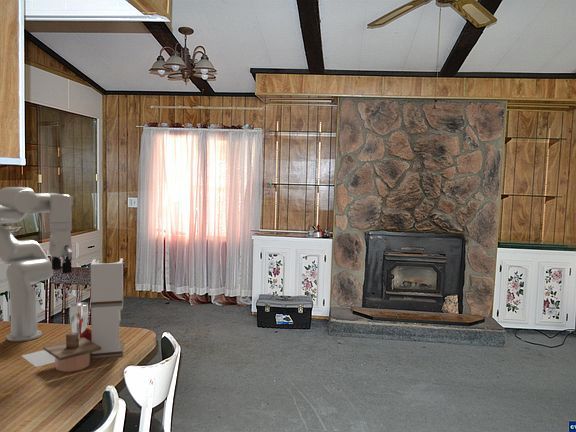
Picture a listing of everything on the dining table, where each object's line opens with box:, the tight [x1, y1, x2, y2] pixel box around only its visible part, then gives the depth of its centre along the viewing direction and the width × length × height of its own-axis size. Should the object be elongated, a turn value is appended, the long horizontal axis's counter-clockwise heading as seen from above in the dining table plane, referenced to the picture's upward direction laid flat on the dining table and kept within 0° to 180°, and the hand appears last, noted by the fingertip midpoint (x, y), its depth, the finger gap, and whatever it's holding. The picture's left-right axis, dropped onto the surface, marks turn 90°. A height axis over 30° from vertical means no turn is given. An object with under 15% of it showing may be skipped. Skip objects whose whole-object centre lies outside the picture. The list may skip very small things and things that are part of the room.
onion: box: [80, 326, 92, 342], centre depth 183 cm, size 6×6×8 cm
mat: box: [21, 349, 55, 368], centre depth 173 cm, size 15×15×1 cm
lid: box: [43, 332, 101, 360], centre depth 164 cm, size 14×14×6 cm
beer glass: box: [69, 301, 89, 339], centre depth 190 cm, size 7×7×15 cm
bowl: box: [54, 353, 91, 373], centre depth 164 cm, size 11×11×6 cm
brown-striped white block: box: [90, 257, 125, 359], centre depth 177 cm, size 11×11×35 cm
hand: (61, 271), depth 180 cm, fingers open, 9 cm apart
